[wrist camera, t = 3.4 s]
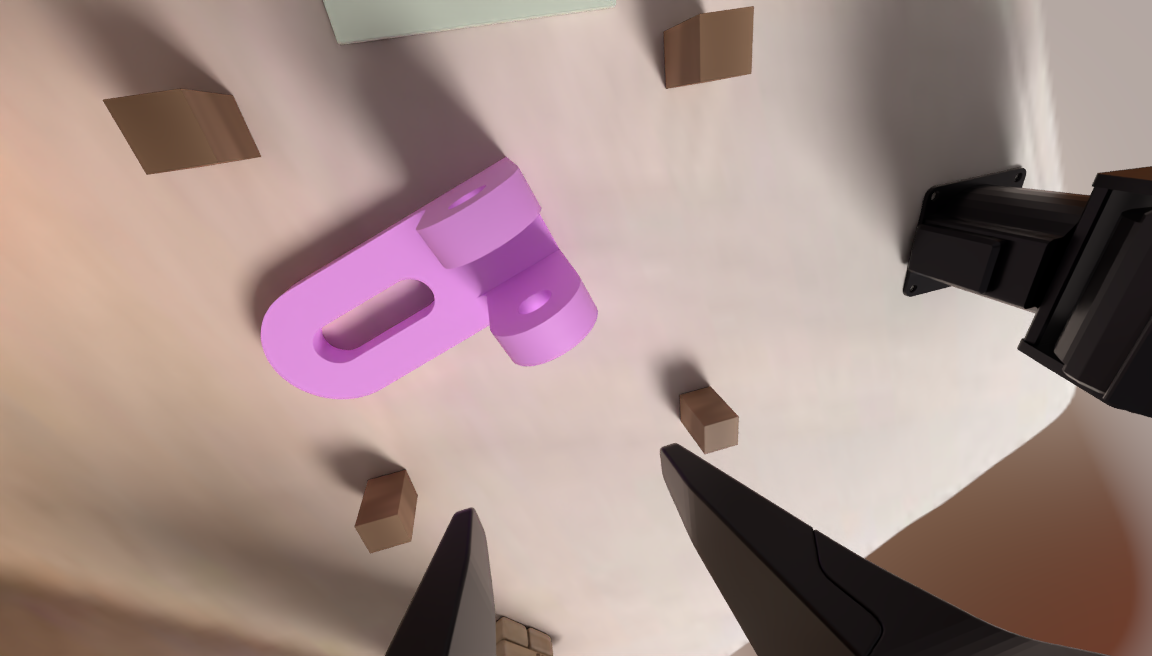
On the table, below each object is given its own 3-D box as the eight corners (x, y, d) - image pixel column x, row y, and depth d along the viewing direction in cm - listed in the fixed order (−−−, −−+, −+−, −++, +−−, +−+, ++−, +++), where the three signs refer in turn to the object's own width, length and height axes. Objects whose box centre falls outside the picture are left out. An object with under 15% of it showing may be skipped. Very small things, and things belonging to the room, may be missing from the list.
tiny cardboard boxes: (709, 24, 17) (753, 6, 14) (710, 412, 26) (737, 444, 23) (170, 104, 14) (102, 99, 12) (381, 505, 23) (370, 553, 21)
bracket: (505, 156, 18) (524, 171, 11) (567, 266, 20) (610, 326, 14) (243, 314, 18) (124, 411, 12) (338, 402, 20) (282, 518, 14)
